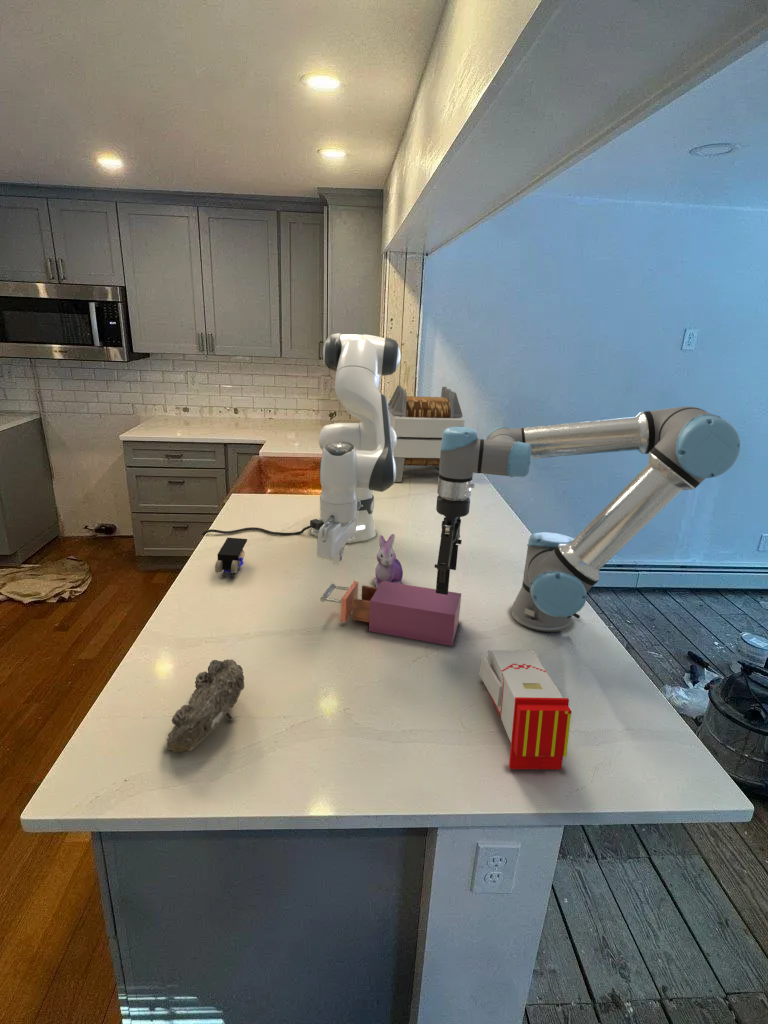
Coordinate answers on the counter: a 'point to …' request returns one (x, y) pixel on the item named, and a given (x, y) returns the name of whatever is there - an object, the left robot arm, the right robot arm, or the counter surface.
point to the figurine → (387, 563)
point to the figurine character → (230, 556)
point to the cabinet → (415, 613)
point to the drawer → (352, 601)
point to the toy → (528, 708)
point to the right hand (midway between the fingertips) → (446, 580)
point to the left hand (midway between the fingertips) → (337, 562)
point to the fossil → (206, 705)
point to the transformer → (421, 427)
